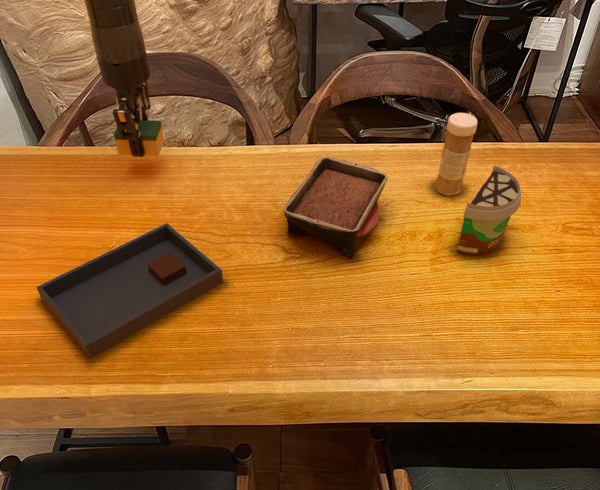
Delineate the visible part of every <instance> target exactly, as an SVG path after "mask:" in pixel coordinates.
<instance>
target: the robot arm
mask: <svg viewBox="0 0 600 490" xmlns="http://www.w3.org/2000/svg"><path fill="white" fill-rule="evenodd" d="M135 1H136V0H83V2H84V5H85V10H86V12H87V17H88V21H89V25H90V34H91V41H92V45H93V47H94V52H95V55H96V60H97V64H98V68H99V72H100V76H101V80H102V82H103V83H104V84H105V85H106V86H107V87H110V88H112V89H114V90H115V91H116V94H115V104H116V105H117V108H115V109H113V110H112V115H113V119H114V122H115V124H116V128H117V127H118V130H119V133H120V135H121V138H122V140H128V142H129V146H130V150H131V154H132V155H131V156H132V157H134V158H135V157H136V158H143V157H145V156H144V155H145V150H144V145H143V140H142V136H141V128H140V123H141V122H142V121H143V120H149V117H150V112H149V111H150V110H151V107H152V106H151V102H150V93H149V86H148V85H149V84H148V81H149V80H150V77H151V71H150V64H149V59H148V54H147V49H146V44H145V39H144V34H143V29H142V27H141V23H140V21H139V17H138V11H137V6H136V2H135ZM135 126H136V127H135Z"/></svg>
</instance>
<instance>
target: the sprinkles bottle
mask: <svg viewBox="0 0 600 490" xmlns="http://www.w3.org/2000/svg"><path fill="white" fill-rule="evenodd" d="M478 123H479V121H478V119H477V117H475V116H474V115H472V114H471V113H467V112H455V113H453V114H451V115H449V117H448V119H447V125H446V136H445V138H444V145H443V149H442V155H441V157H440V162H439V167H438V175H437V179H436V183H435V190H436V191H437V192H438V193H439V194H441V195H443V196H448V197H452V196H456V195H458V194H460V193H461V191H462V185H463V180H464V177H465V176H466V175H465V174H466V170H467V167H468V162H469V157H470V153H471V149H472V143H473V139H474V136H475V134H476V132H477V129H478V128H477V127H478Z"/></svg>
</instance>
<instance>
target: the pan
mask: <svg viewBox="0 0 600 490" xmlns="http://www.w3.org/2000/svg"><path fill="white" fill-rule="evenodd" d="M169 253H171V254H173V255H174V256H175V257H176V258H177V259H178V260H179V261H180V262H182V263H183V264H184V265H185V266H186V271H187V274H185V275H183V276H181V277H179V278H177V279H176V280H174V281H172V282H170V283H168V284H166V285H165V286H164V285H163V284H161V283H160V282H159V281H158V280H157V279H156V278H155V277H154V276H153V275H152V274H151V273H150V272H149V268H148V264H150V263H152V262H153V261H155V260H157V259H159V258H161V257H163V256H165V255H167V254H169ZM223 283H224V277H223V272H222V269H221V268H220V267H219V266H218V265H217V264H216V263H214V261H212V260H211V259H210V258H208V256H206V255H205V254H204V253H203V252H202V251H201V250H199V248H197V247H196V246H195V245H193V244H192V243H191V242H190V241H188V240H187V239H186V238H185V237H184V236H183V235H181V234H180V233H179V232H178V231H176V229H174V228H173V227H172V226H171V225H170V224H169V223H168V222H166V223H164V224H162V225H160V226H158V227H156V228H154V229H152V230H150V231H147V232H146V233H144V234H141V235H140V236H138V237H135V238H134V239H132V240H129V241H128V242H127V241H126V242H125V243H124V244H121V245H119V246H118V247H115V248H113V249H110V250H109V251H107V252H104V253H103V254H101V255H98V256H97V257H95V258H93V259H91V260H89V261H86V262H85V263H83V264H80V265H79V266H77V267H74V268H72V269H71V270H69V271H67V272H64V273H61V274H60V275H58V276H55V277H54V278H52V279H50V280H47V281H46V282H44V283H41V284H40V285H37V286H35V287H36V290H37V293H38V294H39V295H38V296H39V297H40V299H41V300H42V302H43V303H44V304H45V305H46V307H47V308H48V309H49V311H51V313H52V314H53V316H54V317H55V318H56V319H57V320H58V322H59V323H60V324H61V325H62V326H63V327H64V329H65V330H66V331H67V332H68V334H69V335H70V336H71V337H72V338H73V340H74V341H75V342H76V344H78V346H79V347H80V348H81V349H82V351H83V352H84V353H85V354H86V356H87V357H88V358H89V359H93V358H95V357H97V356H98V355H100V354H102V353H103V352H105V351H107V350H108V349H110V348H112V347H114V346H115V345H118V344H119V343H121V342H123V341H124V340H126V339H128V338H129V337H131V336H133V335H135V334H136V333H138V332H140V331H141V330H144V329H146V328H147V327H148V326H151V325H152V324H154V323H156V322H158V321H159V320H160V319H162V318H164V317H166V316H168V315H169V314H171V313H173V312H174V311H176V310H178V309H179V308H181V307H183V306H185V305H186V304H188V303H190V302H192V301H193V300H195V299H197V298H199V297H201V296H202V295H204V294H206V293H207V292H209V291H211V290H213V289H214V288H216V287H218V286H220V285H221V284H223Z"/></svg>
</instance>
